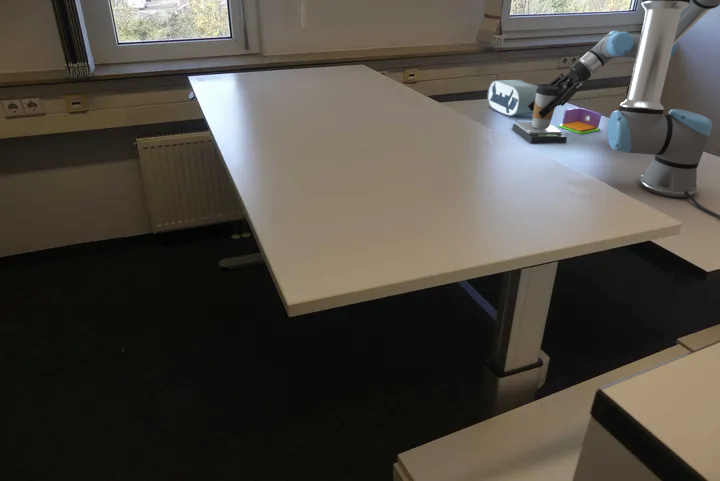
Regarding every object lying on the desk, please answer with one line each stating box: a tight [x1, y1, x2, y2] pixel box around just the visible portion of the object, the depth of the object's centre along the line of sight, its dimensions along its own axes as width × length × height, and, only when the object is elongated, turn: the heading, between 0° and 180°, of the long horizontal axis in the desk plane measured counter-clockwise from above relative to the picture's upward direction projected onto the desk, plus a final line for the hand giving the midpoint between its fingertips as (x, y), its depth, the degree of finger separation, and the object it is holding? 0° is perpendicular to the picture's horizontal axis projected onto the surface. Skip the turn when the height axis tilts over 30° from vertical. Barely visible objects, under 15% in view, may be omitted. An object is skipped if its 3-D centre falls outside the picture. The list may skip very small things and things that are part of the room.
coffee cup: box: [531, 84, 560, 129], centre depth 198 cm, size 8×8×15 cm
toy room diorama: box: [558, 107, 602, 135], centre depth 213 cm, size 12×12×7 cm
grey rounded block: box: [486, 79, 539, 117], centre depth 230 cm, size 22×19×13 cm
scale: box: [511, 121, 568, 145], centre depth 203 cm, size 17×14×3 cm
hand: (535, 111), depth 198 cm, fingers closed on coffee cup, 8 cm apart
